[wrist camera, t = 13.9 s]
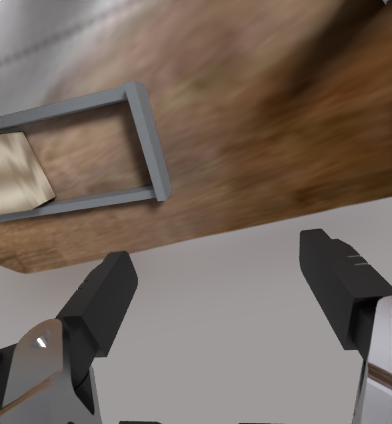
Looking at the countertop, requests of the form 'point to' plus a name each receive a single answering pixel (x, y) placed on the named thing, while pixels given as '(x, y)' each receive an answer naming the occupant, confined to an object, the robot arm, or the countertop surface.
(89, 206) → the frame
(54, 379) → the robot arm
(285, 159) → the countertop surface
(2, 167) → the beige block
